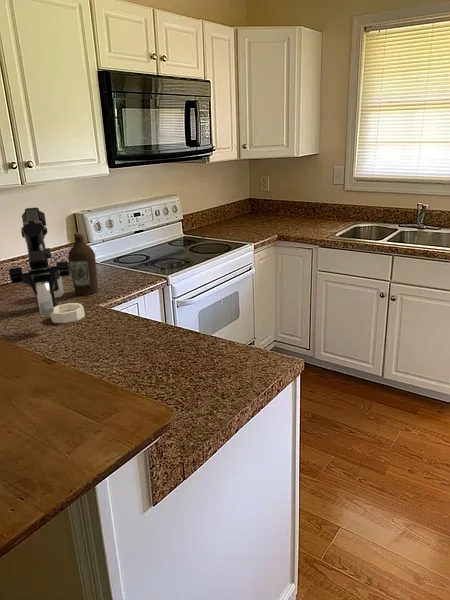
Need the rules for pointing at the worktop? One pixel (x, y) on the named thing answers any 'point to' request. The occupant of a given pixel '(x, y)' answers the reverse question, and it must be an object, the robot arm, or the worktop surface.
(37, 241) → the robot arm
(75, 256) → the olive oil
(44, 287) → the canister
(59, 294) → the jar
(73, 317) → the bowl
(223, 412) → the worktop surface
